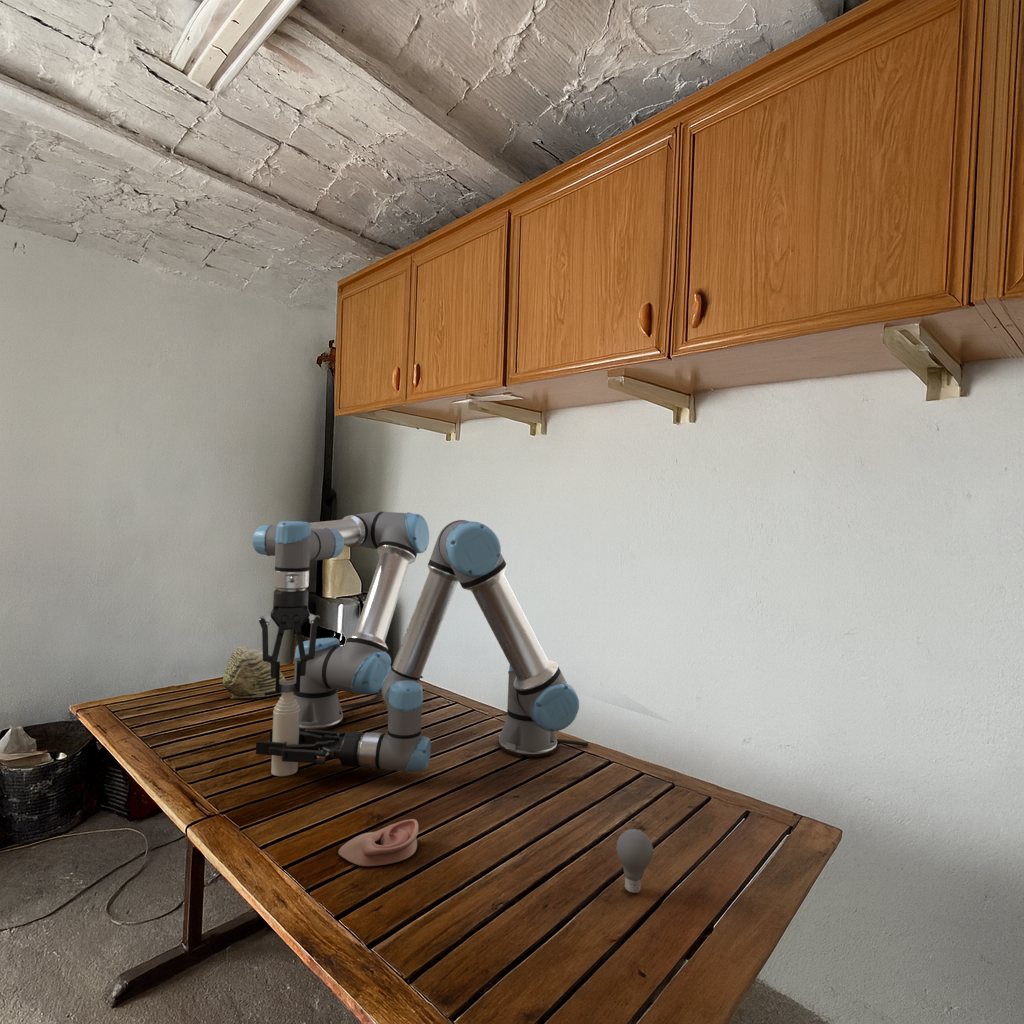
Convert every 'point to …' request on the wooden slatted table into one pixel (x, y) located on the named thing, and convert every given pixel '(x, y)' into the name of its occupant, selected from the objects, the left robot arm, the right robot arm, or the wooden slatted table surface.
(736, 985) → the wooden slatted table surface
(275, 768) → the bottle
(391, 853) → the anatomical model
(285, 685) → the cap
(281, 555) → the left robot arm
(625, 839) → the light bulb
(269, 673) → the fossil
